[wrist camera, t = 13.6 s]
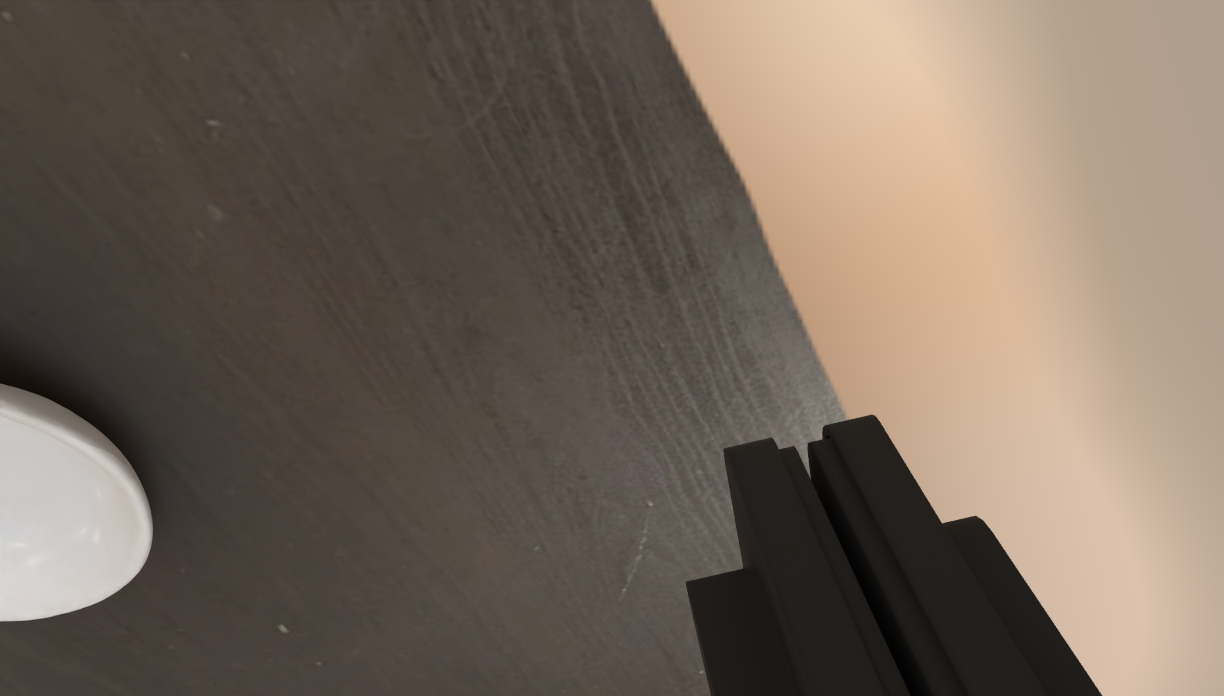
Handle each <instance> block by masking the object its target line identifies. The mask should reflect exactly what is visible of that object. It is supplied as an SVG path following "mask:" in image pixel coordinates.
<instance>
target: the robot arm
mask: <svg viewBox="0 0 1224 696" xmlns="http://www.w3.org/2000/svg"><path fill="white" fill-rule="evenodd" d="M822 435H823V440H818V441H814V442H810V443H808V458H809V467H810V475H811V479H810V477H809V475H808V473H807V471H806V469H805V466H804V464H803V462H802V460H801V458H800V456H799V453H798V451H797V450H796V448H795V447H794V446H792V447H788V448H783V449H779V450H778V447H777V445H776V443H775V441H774V439H772V438H768V439H764V440H759V441H755V442H750V443H746V444H742V445H737V446H733V447H729V448H724V458H725V465H726V470H727V476H728V482H729V488H730V493H731V499H732V505H733V511H734V516H735V522H736V528H737V533H738V539H739V545H740V551H741V556H742V562H743V568H744V569H740V570H736V571H731V572H727V573H723V574H718V575H714V576H710V577H705V578H701V579H696V580H692V581H688V582H686V587H687V591H688V596H689V601H690V605H691V610H692V614H693V619H694V623H695V628H696V632H697V637H698V641H699V646H700V650H701V654H702V659H703V663H704V667H705V671H706V676H707V680H708V684H709V688H710V693H711V696H1102V695H1101V693H1100V692H1099V690H1098V689H1097V687H1096V686H1095V684H1094V683H1093V681H1092V680H1091V678H1090V677H1089V675H1088V674H1087V672H1086V671H1085V669H1084V668H1083V666H1082V665H1081V663H1080V662H1079V660H1078V659H1077V658H1076V656H1075V655H1074V653H1073V652H1072V650H1071V649H1070V647H1069V646H1068V644H1067V643H1066V641H1065V640H1064V638H1063V637H1062V635H1061V634H1060V632H1059V631H1058V629H1057V628H1056V626H1055V625H1054V623H1053V622H1052V620H1051V619H1050V617H1049V616H1048V614H1047V613H1046V611H1045V610H1044V608H1043V607H1042V605H1041V604H1040V602H1039V601H1038V599H1037V598H1036V596H1035V595H1034V593H1033V592H1032V590H1031V589H1030V587H1029V586H1028V584H1027V583H1026V582H1025V580H1024V579H1023V577H1022V576H1021V574H1020V573H1019V571H1018V570H1017V568H1016V567H1015V565H1014V564H1013V562H1012V561H1011V559H1010V558H1009V556H1008V555H1007V553H1006V552H1005V550H1004V549H1003V547H1002V546H1001V544H1000V543H999V541H998V540H997V538H996V537H995V535H994V534H993V532H992V531H991V530H990V528H989V527H988V526H987V525H986V524H985V522H984V521H983V520H982V519H980V518H978V517H977V516H972V517H968V518H964V519H959V520H955V521H950V522H946V523H941V521H940V519H939V518H938V516H937V515H936V513H935V511H934V510H933V508H932V506H931V505H930V503H929V501H928V500H927V498H926V497H925V495H924V493H923V492H922V490H921V488H920V487H919V485H918V483H917V482H916V480H915V479H914V477H913V475H912V474H911V472H910V470H909V469H908V467H907V466H906V464H905V462H904V461H903V459H902V457H901V456H900V454H899V452H898V451H897V449H896V448H895V446H894V444H893V443H892V441H891V439H890V438H889V436H888V434H887V433H886V431H885V429H884V428H883V426H882V425H881V423H880V421H879V420H878V419H877V417H875V416H874V415H869V416H864V417H860V418H855V419H851V420H846V421H842V422H838V423H833V424H829V425H825V426H824V427H823V432H822Z"/></svg>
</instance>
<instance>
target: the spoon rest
mask: <svg viewBox="0 0 1224 696" xmlns="http://www.w3.org/2000/svg"><path fill="white" fill-rule="evenodd" d="M152 536H153V524H152V516H151V510H150V507H149V503H148V500H147V497H146V494H145V491H144V489H143V487H142V484H141V482H140V480H139V478H138V476H137V475H136V473H135V471H134V469H133V468H132V466H131V465H130V463H129V462H128V460H127V459H126V458H125V456H124V455H123V454H122V453H121V451H120V450H119V449H118V448H117V447H116V446H115V445H114V444H113V443H112V442H111V441H110V440H109V439H108V438H107V437H106V436H105V435H104V434H102V433H101V432H100V431H99V430H97V429H96V428H95V427H94V426H92V425H91V424H90V423H88V422H87V421H85V420H84V419H82V418H81V417H79V416H78V415H76V414H75V413H73V412H72V411H70V410H68V409H66V408H64V407H63V406H61V405H59V404H57V403H55V402H53V401H51V400H49V399H47V398H44V397H42V396H40V395H37V394H34V393H31V392H28V391H25V390H22V389H19V388H15V387H11V386H8V385H4V384H0V621H22V620H34V619H41V618H47V617H51V616H55V615H59V614H64V613H68V612H71V611H75V610H78V609H81V608H84V607H87V606H90V605H92V604H95V603H97V602H100V601H102V600H104V599H106V598H107V597H109V596H111V595H112V594H114V593H115V592H117V591H118V590H120V589H121V588H122V587H124V586H125V585H126V584H128V583H129V582H130V581H131V580H132V579H133V578H134V577H135V576H136V575H137V574H138V572H139V571H140V570H141V568H142V567H143V565H144V563H145V562H146V559H147V557H148V555H149V552H150V548H151V544H152Z"/></svg>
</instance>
